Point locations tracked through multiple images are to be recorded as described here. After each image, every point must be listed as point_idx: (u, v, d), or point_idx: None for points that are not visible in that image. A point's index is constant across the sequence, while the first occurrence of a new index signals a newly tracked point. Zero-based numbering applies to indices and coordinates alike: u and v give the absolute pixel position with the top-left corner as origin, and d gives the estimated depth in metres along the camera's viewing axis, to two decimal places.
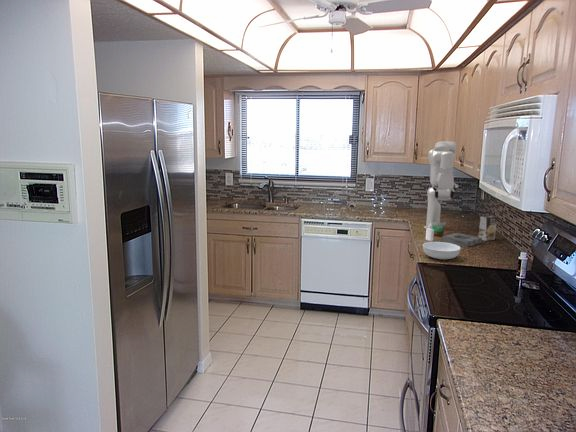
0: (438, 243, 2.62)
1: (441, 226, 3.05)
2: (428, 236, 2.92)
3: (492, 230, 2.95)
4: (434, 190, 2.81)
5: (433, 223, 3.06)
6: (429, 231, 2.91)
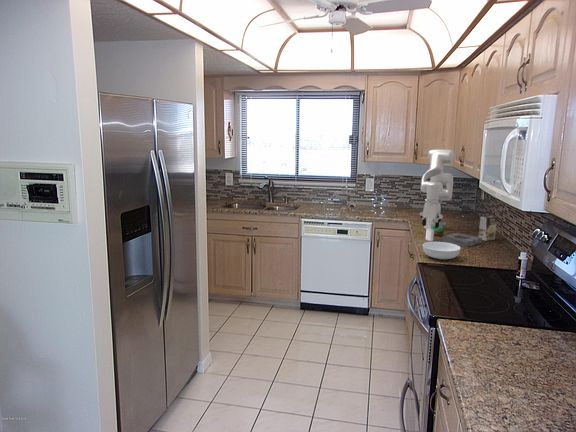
0: (438, 243, 2.62)
1: (441, 226, 3.05)
2: (428, 236, 2.92)
3: (492, 230, 2.95)
4: (439, 221, 2.85)
5: (433, 223, 3.06)
6: (429, 231, 2.91)
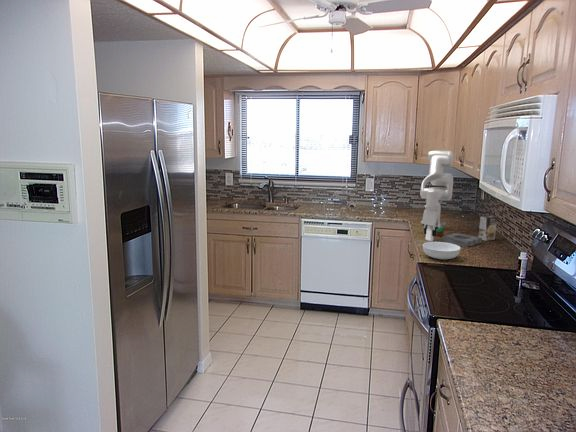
0: (438, 243, 2.62)
1: (441, 226, 3.05)
2: (428, 236, 2.92)
3: (492, 230, 2.95)
4: (436, 229, 2.88)
5: None
6: (429, 231, 2.91)
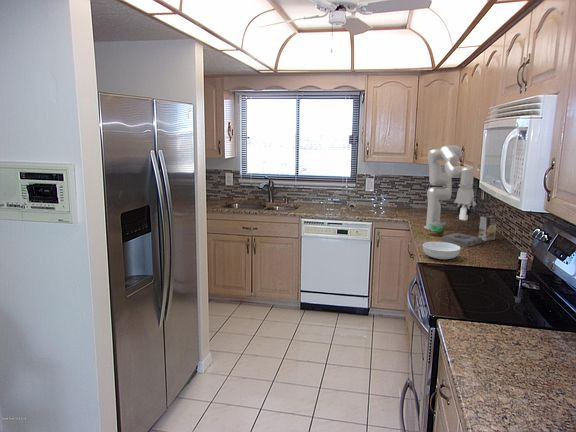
0: (438, 243, 2.62)
1: (441, 226, 3.05)
2: (462, 215, 2.85)
3: (492, 230, 2.95)
4: (470, 208, 2.81)
5: (433, 223, 3.06)
6: (463, 210, 2.84)
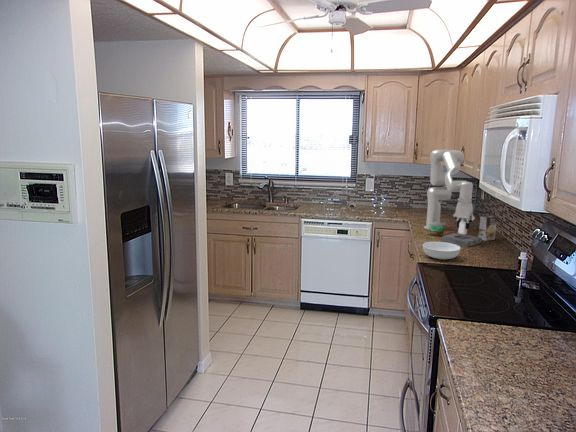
0: (438, 243, 2.62)
1: (441, 226, 3.05)
2: (461, 229, 2.87)
3: (492, 230, 2.95)
4: (469, 222, 2.83)
5: (433, 223, 3.06)
6: (462, 224, 2.85)
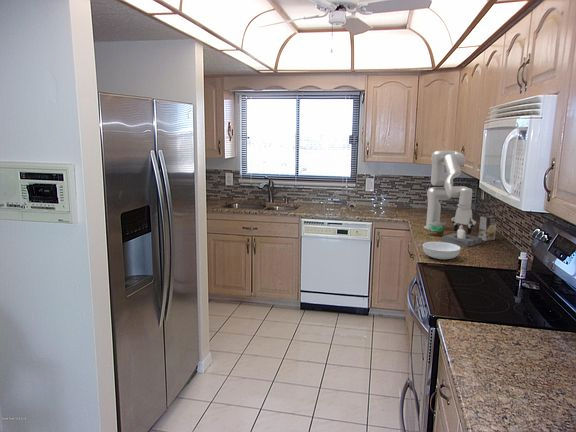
0: (438, 243, 2.62)
1: (441, 226, 3.05)
2: (460, 237, 2.88)
3: (492, 230, 2.95)
4: (471, 227, 2.82)
5: (433, 223, 3.06)
6: (461, 232, 2.87)
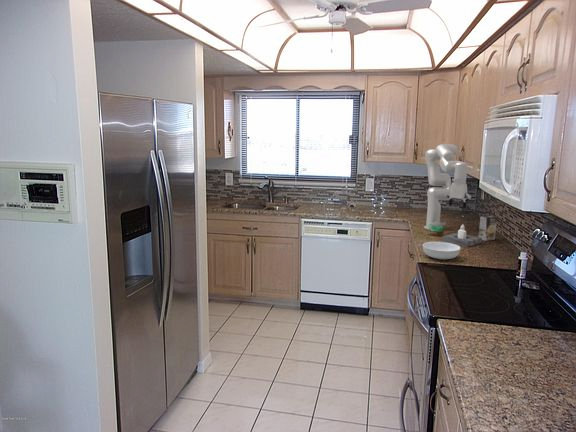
0: (438, 243, 2.62)
1: (441, 226, 3.05)
2: (460, 237, 2.88)
3: (492, 230, 2.95)
4: (466, 201, 2.84)
5: (433, 223, 3.06)
6: (461, 232, 2.87)
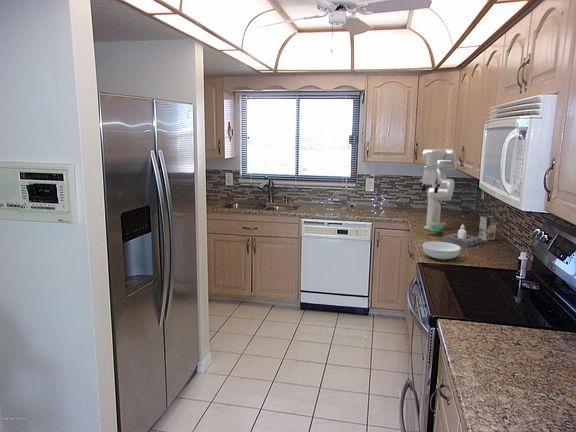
0: (438, 243, 2.62)
1: (441, 226, 3.05)
2: (460, 237, 2.88)
3: (492, 230, 2.95)
4: (438, 186, 3.00)
5: (433, 223, 3.06)
6: (461, 232, 2.87)
